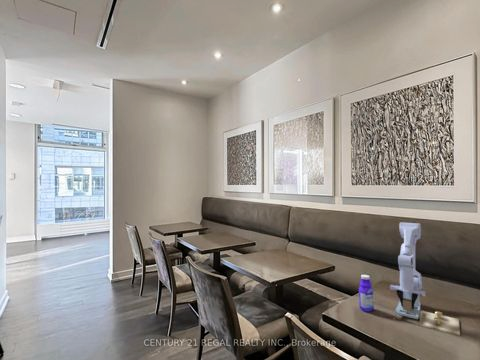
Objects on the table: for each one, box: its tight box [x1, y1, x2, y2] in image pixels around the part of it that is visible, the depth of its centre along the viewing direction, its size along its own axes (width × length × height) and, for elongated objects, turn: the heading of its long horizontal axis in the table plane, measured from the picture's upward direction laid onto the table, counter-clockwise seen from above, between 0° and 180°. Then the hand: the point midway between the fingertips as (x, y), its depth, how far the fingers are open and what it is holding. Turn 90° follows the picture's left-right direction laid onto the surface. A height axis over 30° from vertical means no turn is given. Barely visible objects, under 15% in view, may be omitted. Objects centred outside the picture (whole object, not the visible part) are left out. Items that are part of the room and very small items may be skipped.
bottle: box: [358, 274, 375, 312], centre depth 138 cm, size 7×6×17 cm
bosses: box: [434, 310, 443, 326], centre depth 124 cm, size 3×11×3 cm, turn 142°
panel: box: [394, 298, 421, 320], centre depth 130 cm, size 9×13×5 cm
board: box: [418, 310, 461, 336], centre depth 123 cm, size 14×16×1 cm
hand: (407, 307), depth 130 cm, fingers closed on panel, 4 cm apart
